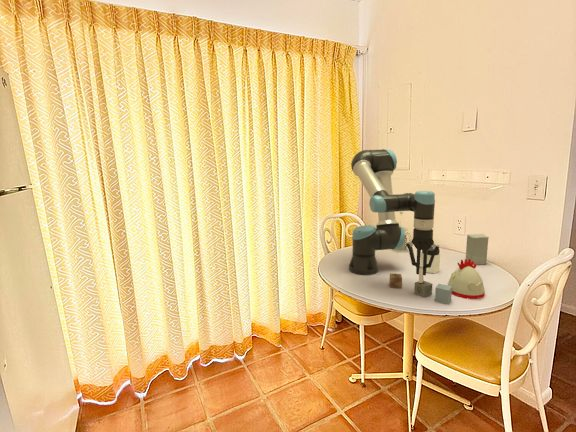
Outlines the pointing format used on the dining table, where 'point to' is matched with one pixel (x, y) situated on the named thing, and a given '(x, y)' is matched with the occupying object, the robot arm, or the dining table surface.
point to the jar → (436, 260)
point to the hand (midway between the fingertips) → (420, 281)
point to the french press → (403, 248)
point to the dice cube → (423, 289)
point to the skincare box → (477, 248)
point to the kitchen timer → (467, 281)
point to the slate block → (443, 293)
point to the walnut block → (395, 280)
